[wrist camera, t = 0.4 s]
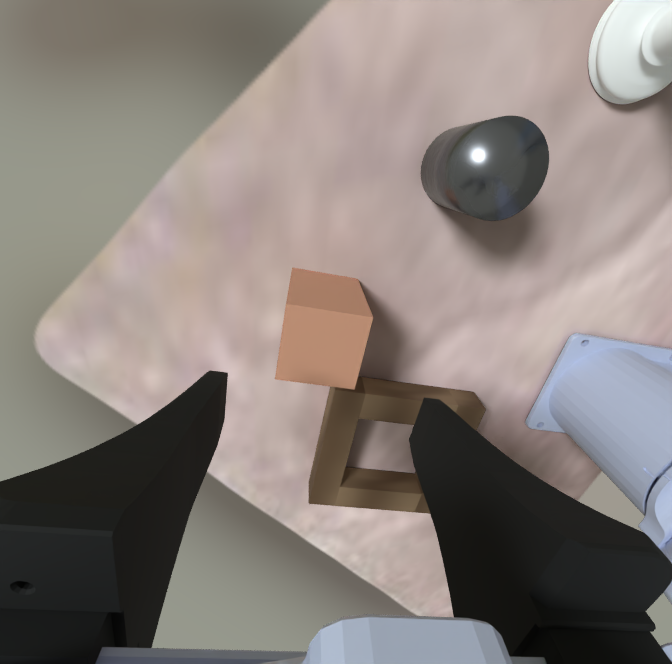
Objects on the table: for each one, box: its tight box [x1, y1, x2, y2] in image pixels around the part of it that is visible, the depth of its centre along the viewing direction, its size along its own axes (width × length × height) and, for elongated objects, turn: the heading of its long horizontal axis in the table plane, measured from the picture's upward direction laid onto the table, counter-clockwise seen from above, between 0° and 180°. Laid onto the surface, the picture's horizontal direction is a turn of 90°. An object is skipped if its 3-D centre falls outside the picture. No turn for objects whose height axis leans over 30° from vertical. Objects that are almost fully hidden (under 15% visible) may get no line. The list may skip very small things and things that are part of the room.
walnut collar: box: [309, 377, 486, 513], centre depth 26 cm, size 10×10×2 cm
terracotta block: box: [275, 268, 373, 390], centre depth 20 cm, size 4×4×6 cm
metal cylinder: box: [421, 116, 549, 221], centre depth 17 cm, size 4×4×5 cm
